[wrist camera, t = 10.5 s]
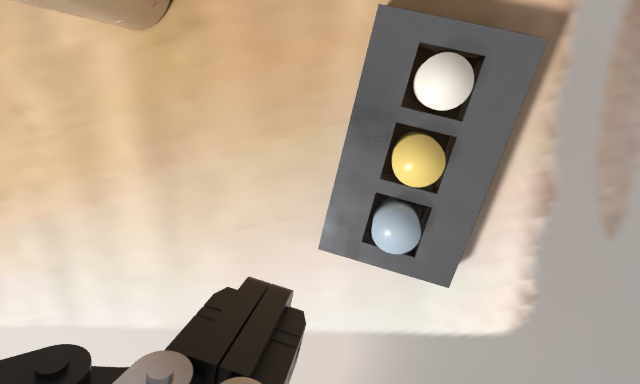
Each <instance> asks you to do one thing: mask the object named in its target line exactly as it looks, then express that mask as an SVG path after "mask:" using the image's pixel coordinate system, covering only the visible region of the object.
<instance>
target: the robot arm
mask: <svg viewBox="0 0 640 384" xmlns="http://www.w3.org/2000/svg"><path fill="white" fill-rule="evenodd" d="M11 1H16V2H20V3H24V4H28V5H32V6H36V7H40V8H45V9H49V10H53V11H57V12H61V13H65V14H69V15H74V16H78V17H82V18H86V19H90V20H94V21H98V22H102V23H106V24H110V25H115V26H119V27H123V28H128V29H132V30H142V29H146V28H149V27H151V26H152V25H154V24H156V23H157V22H158V21H159V20H160V19H161V18H162V16H163V15H164V13H165V11H166V10H167V7H168V4H169V2H170V0H11ZM292 297H293V290H290V289H287V288H284V287H281V286H277V285H274V284H270V283H268V282H264V281H261V280H258V279H255V278H252V277H248V278H247V279H246V280H245V281H244V283H243V284H242V285H241V287H240V288H239V289H238V290H236V289H233V288H230V287H227V288H225V289H223V290H221V291H219V292H217V293H215V294H213V295H212V297H211V298H210V299H209V300H208V301H207V302H206V303H205V305H204V307H202V308H201V309H200V310H199V311H198V313H197V314H196V316H194V317H193V318H192V319H191V321H190V322H189V323H188V324H187V325H186V326H185V327H184V328H183V330H182V331H181V332H180V333H179V334H178V335H177V336H176V338H175V339H174V340H173V341H172V342H171V343H170V345H169V346H168V347H167V348H166V349H165V350H164V351H157V352H153V353H150V354H148V355H145V356H143V357H142V358H140V359H139V360H138V361H136V362H135V363H134V364H133V365H132V366H131V367H120V368H119V367H97V366H91V356H90V353H89V352H88V351H87V350H86V349H84V348H83V347H80V346H77V345H72V344H61V345H54V346H50V347H46V348H42V349H39V350H35V351H32V352H28V353H24V354H21V355H17V356H14V357H10V358H7V359H3V360H0V384H289V382H290V379H291V376H292V373H293V370H294V367H295V364H296V362H297V358H298V353H299V350H300V346H301V342H302V338H303V334H304V330H305V326H306V321H305V316H304V311H301V310H298V309H295V308H292V307H290V306H291V301H292Z"/></svg>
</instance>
